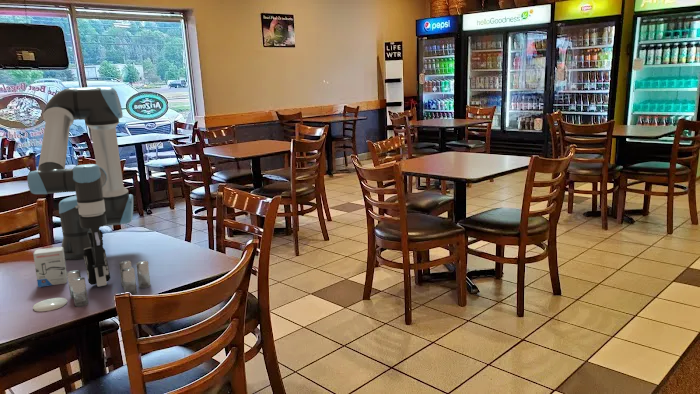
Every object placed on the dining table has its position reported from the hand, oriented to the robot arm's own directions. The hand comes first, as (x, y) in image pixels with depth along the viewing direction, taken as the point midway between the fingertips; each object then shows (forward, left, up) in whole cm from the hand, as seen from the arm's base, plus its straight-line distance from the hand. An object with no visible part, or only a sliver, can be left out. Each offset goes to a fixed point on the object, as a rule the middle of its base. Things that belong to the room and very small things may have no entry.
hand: (101, 285), depth 166 cm
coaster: (+3, -15, -2) cm, 15 cm away
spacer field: (+4, +2, -2) cm, 5 cm away
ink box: (-18, -13, -2) cm, 22 cm away
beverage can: (-4, 0, -1) cm, 4 cm away
